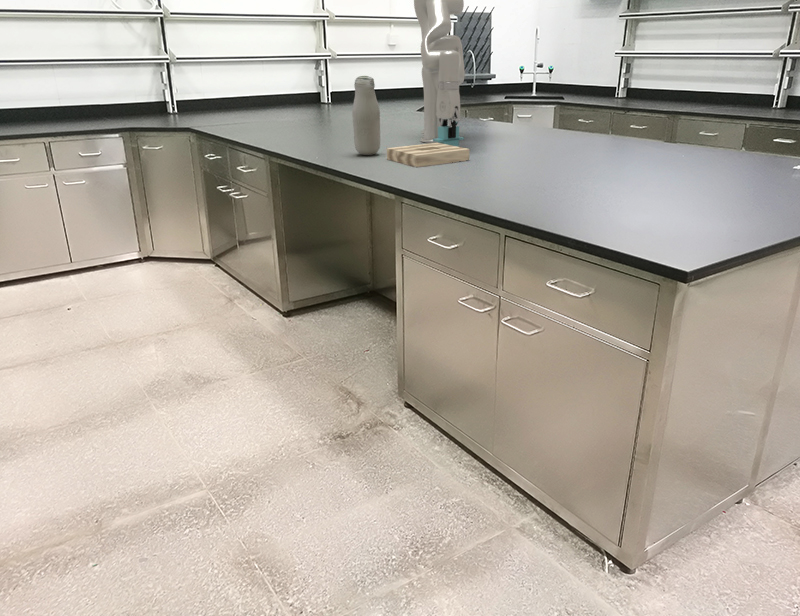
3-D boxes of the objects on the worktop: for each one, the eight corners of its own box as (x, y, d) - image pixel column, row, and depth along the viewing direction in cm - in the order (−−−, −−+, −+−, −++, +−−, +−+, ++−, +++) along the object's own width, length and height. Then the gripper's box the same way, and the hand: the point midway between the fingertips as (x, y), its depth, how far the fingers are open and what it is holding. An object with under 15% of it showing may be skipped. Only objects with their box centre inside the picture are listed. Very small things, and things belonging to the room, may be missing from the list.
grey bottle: (382, 152, 240) (380, 74, 230) (378, 157, 231) (376, 76, 220) (356, 152, 241) (353, 75, 231) (352, 157, 232) (348, 76, 221)
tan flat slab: (386, 159, 226) (386, 148, 225) (437, 153, 237) (437, 142, 235) (416, 167, 210) (416, 155, 209) (469, 160, 221) (469, 149, 219)
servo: (432, 151, 241) (432, 125, 237) (457, 148, 246) (457, 122, 243) (438, 152, 238) (438, 125, 234) (463, 149, 243) (464, 123, 239)
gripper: (428, 86, 238) (428, 135, 245) (453, 88, 225) (453, 140, 232) (444, 85, 242) (444, 134, 249) (470, 87, 228) (469, 138, 235)
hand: (448, 136), depth 240 cm, fingers closed on servo, 4 cm apart
